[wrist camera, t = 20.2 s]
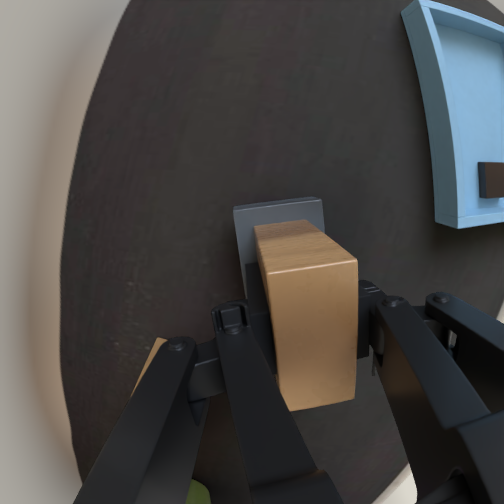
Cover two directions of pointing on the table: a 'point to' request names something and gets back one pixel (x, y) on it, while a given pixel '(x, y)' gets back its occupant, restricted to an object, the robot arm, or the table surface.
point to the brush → (304, 298)
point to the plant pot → (198, 494)
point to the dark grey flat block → (491, 179)
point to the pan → (459, 105)
